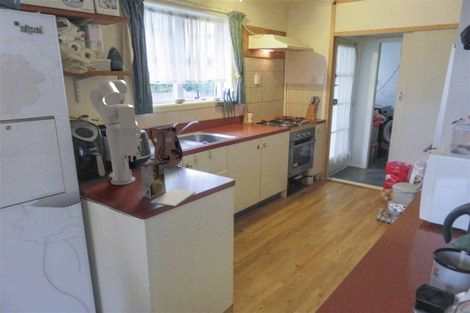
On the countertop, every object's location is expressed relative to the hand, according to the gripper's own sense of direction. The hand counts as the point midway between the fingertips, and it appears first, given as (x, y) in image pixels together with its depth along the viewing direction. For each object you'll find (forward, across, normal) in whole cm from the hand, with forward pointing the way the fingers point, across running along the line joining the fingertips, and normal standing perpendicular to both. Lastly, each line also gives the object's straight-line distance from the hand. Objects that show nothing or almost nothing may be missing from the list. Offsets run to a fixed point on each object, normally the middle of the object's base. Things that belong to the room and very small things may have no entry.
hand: (132, 168), depth 158 cm
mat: (+12, +23, 0) cm, 26 cm away
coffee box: (+12, +12, 0) cm, 17 cm away
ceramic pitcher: (+12, -12, +45) cm, 48 cm away
